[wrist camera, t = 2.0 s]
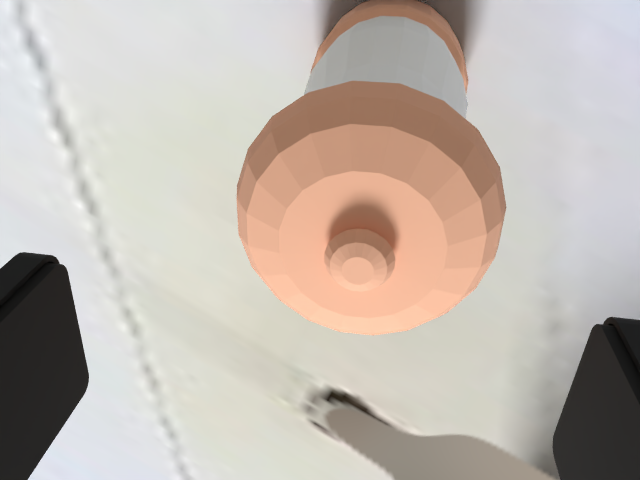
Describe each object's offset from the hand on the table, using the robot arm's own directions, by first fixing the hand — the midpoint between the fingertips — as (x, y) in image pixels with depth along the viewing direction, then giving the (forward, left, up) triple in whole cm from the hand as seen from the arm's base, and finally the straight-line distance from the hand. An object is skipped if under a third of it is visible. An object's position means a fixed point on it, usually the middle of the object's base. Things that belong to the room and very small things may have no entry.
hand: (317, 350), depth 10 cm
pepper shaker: (-1, 0, -22) cm, 22 cm away
